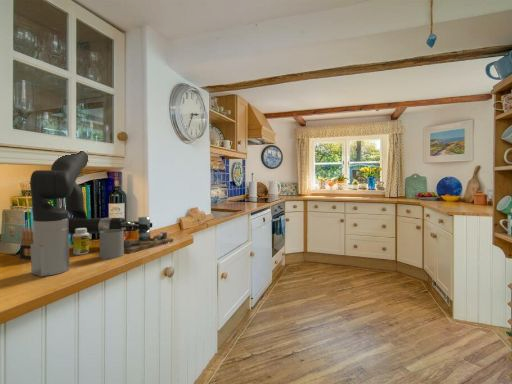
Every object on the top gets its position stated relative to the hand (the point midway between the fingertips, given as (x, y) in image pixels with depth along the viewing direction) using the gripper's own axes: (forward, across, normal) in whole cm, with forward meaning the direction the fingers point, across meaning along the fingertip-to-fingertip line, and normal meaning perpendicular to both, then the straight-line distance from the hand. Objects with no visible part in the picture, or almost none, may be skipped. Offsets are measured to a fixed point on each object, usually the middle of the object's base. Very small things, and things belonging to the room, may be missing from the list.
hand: (149, 226), depth 124 cm
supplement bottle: (-23, -13, +9) cm, 28 cm away
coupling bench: (-2, 0, +9) cm, 9 cm away
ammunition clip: (-37, -20, +10) cm, 43 cm away
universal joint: (-3, 0, +6) cm, 7 cm away
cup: (-9, -17, +9) cm, 21 cm away
